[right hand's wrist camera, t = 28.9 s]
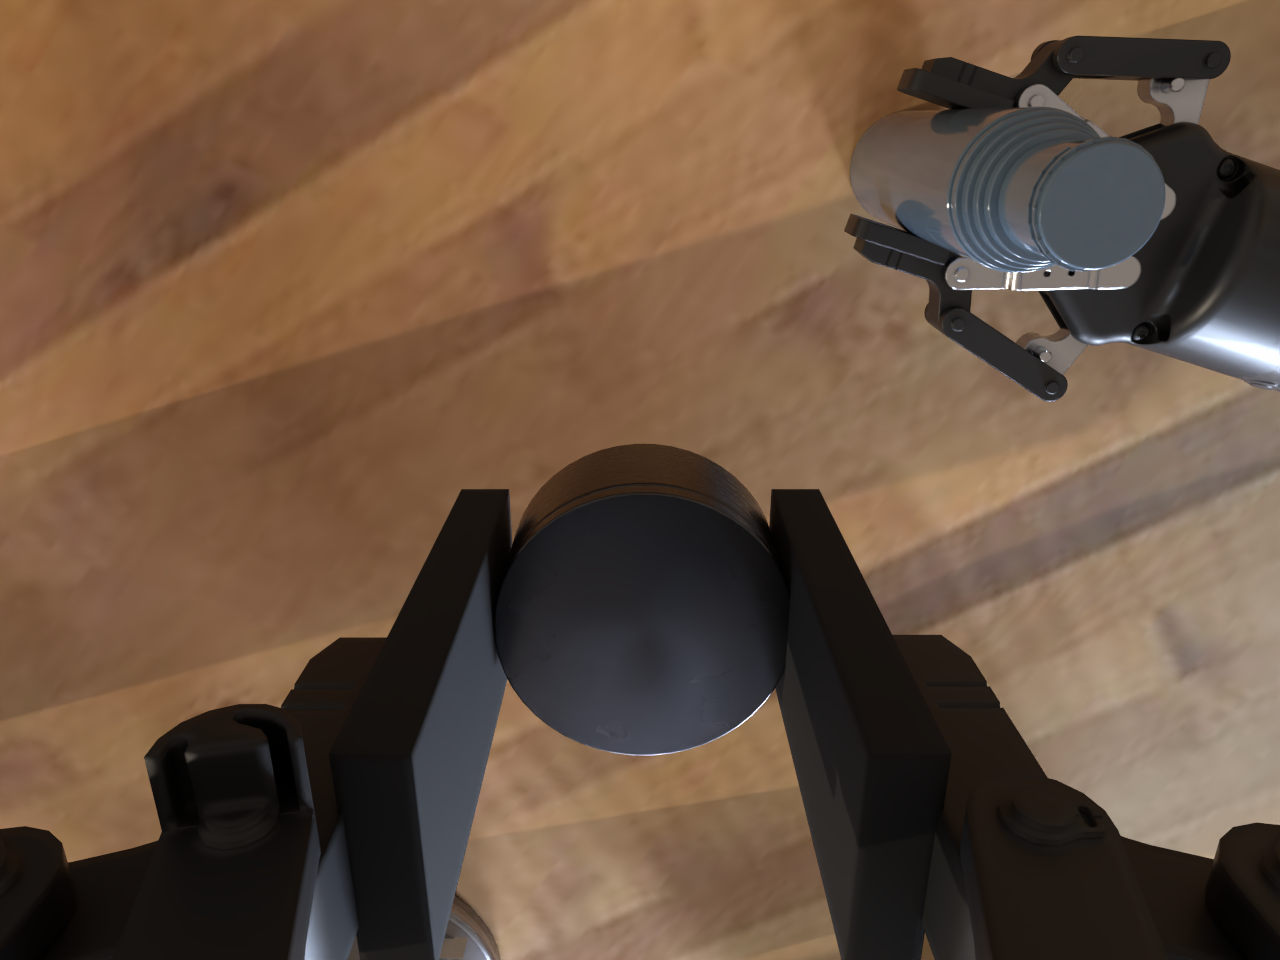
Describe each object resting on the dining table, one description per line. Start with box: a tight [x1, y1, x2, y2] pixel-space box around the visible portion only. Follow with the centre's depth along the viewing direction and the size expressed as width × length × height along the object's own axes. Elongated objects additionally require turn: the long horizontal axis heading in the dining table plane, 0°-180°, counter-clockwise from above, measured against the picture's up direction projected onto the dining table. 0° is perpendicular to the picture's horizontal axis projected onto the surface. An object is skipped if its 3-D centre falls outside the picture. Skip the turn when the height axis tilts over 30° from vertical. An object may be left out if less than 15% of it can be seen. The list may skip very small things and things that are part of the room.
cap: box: [493, 444, 790, 755], centre depth 14 cm, size 4×4×2 cm
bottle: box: [850, 107, 1166, 273], centre depth 31 cm, size 5×5×19 cm
